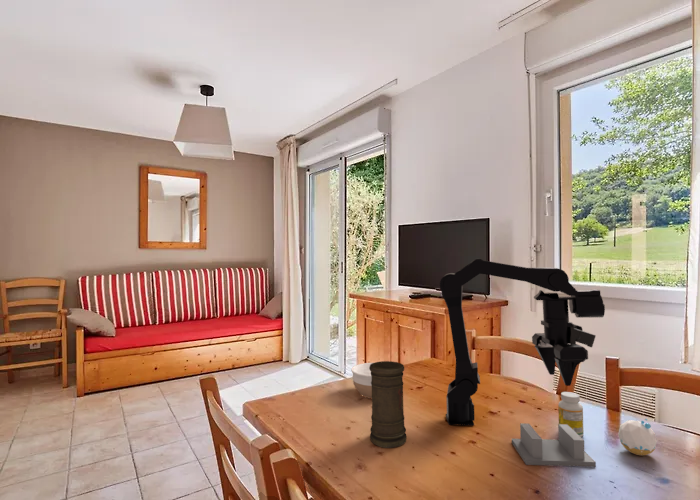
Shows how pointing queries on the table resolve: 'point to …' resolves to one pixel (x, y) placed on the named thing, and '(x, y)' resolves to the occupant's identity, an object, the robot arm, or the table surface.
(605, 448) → the table surface
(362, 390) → the bowl
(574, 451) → the holder
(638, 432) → the ornament
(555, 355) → the robot arm
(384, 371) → the container
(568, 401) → the supplement bottle
